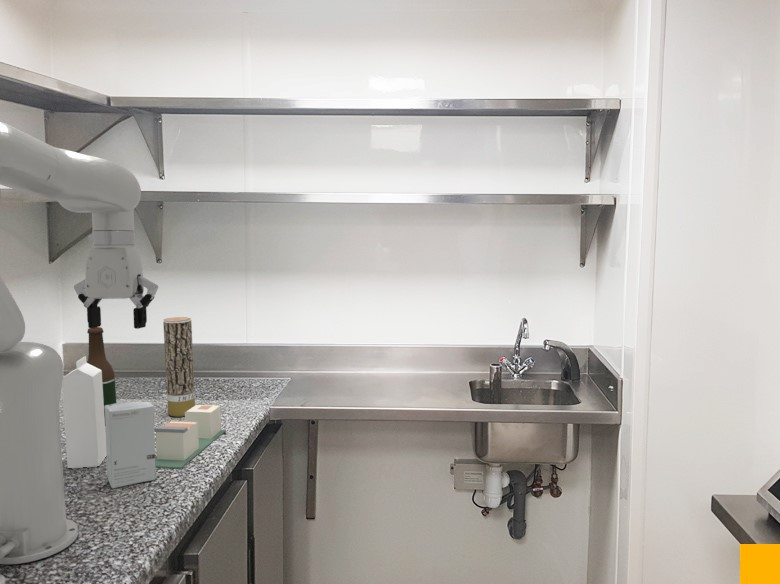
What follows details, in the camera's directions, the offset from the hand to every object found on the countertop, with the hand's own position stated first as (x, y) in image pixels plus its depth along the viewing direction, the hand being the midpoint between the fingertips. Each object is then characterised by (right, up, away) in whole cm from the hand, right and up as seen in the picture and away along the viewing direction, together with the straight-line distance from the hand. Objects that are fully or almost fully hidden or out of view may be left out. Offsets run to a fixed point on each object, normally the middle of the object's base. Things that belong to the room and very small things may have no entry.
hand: (117, 327), depth 123 cm
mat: (+9, -27, +15) cm, 32 cm away
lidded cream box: (+9, -28, +10) cm, 31 cm away
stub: (+10, -26, +23) cm, 36 cm away
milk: (-9, -29, +6) cm, 31 cm away
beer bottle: (-19, -26, +33) cm, 46 cm away
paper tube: (0, -25, +39) cm, 47 cm away
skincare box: (+4, -30, -2) cm, 30 cm away
